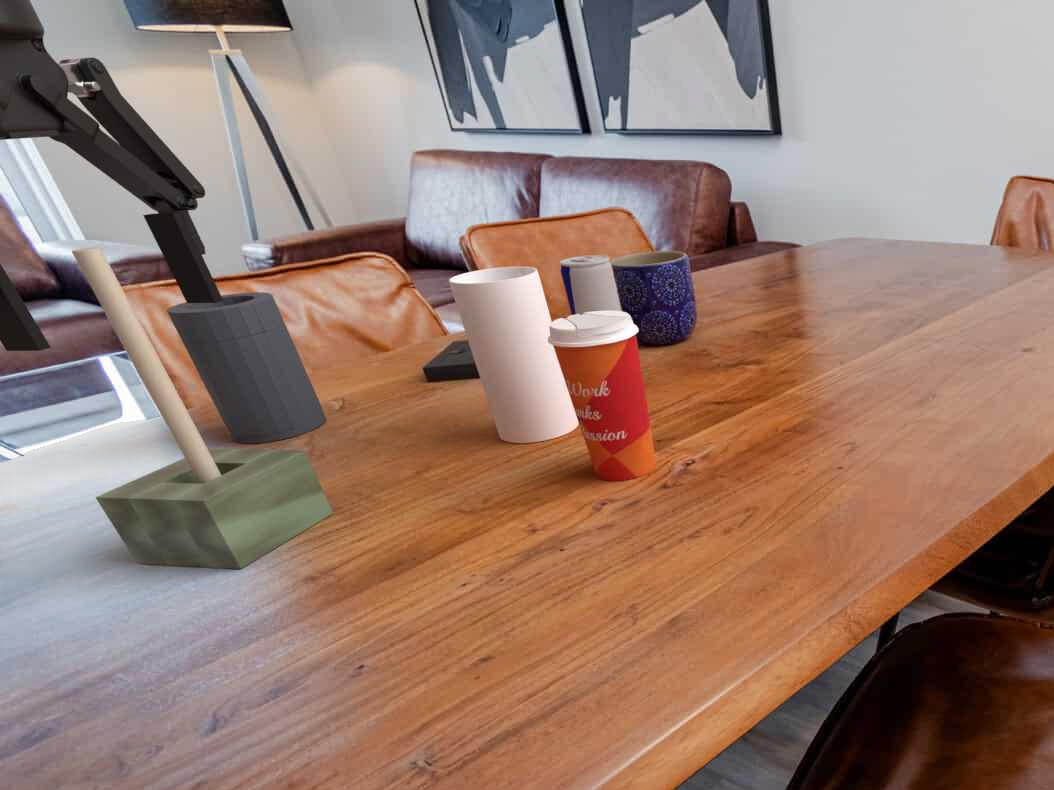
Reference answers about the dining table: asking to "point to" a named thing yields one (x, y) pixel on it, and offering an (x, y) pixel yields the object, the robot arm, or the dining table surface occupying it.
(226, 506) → the holder
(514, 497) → the dining table surface
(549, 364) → the cup
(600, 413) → the paper cup
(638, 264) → the planter
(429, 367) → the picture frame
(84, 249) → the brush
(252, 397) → the dark gray cylindrical container
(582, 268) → the beverage can
